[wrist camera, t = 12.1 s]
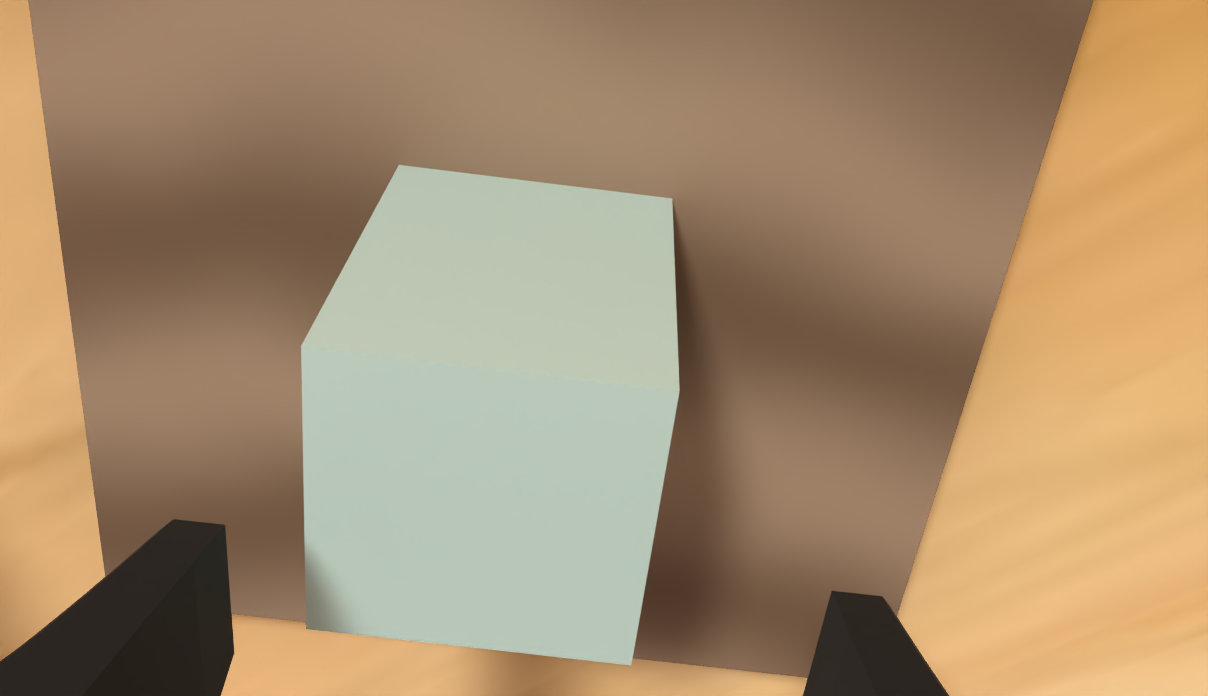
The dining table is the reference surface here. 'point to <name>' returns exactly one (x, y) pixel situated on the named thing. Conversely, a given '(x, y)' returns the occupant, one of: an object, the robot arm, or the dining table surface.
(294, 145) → the walnut stand
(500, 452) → the sage block
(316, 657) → the dining table surface
